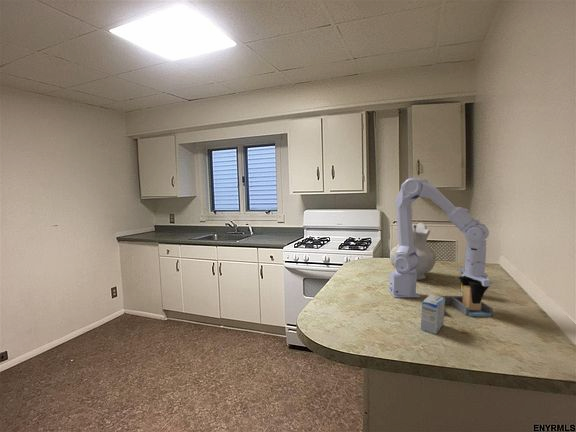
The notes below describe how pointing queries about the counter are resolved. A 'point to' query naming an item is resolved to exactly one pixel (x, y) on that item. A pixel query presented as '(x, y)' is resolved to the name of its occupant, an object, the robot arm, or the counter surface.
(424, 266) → the ceramic pitcher
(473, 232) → the robot arm
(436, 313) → the medicine box
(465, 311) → the blue shallow tray
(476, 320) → the counter surface
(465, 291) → the tan rectangular block
